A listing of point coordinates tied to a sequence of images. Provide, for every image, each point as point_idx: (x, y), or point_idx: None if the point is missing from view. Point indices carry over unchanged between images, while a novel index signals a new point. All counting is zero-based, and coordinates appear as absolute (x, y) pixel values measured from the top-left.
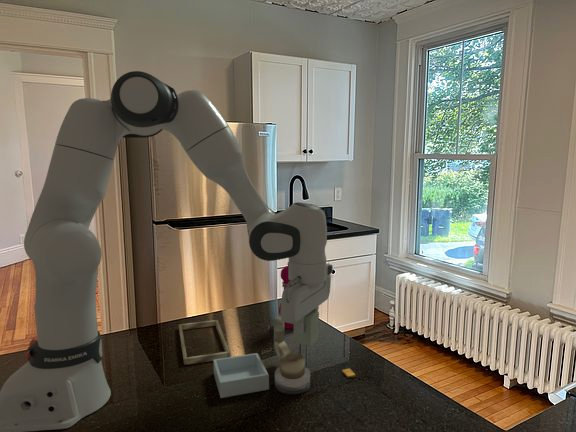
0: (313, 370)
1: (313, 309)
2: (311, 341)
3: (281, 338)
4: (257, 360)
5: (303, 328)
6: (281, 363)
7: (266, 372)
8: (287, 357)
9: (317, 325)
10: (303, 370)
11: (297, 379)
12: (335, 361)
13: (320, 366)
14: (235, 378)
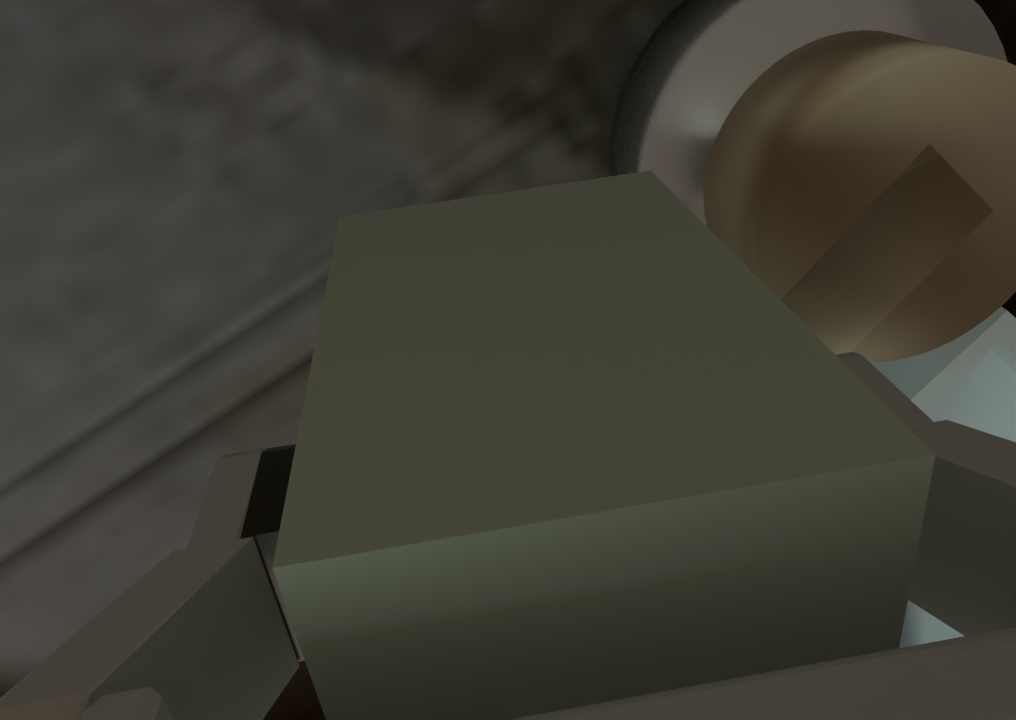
0: (440, 115)
1: (644, 711)
2: (644, 197)
3: None
4: None
5: (895, 403)
6: (1012, 276)
7: (977, 348)
8: (894, 297)
9: (388, 329)
10: (880, 39)
11: (937, 44)
12: (90, 6)
13: (319, 98)
14: None
